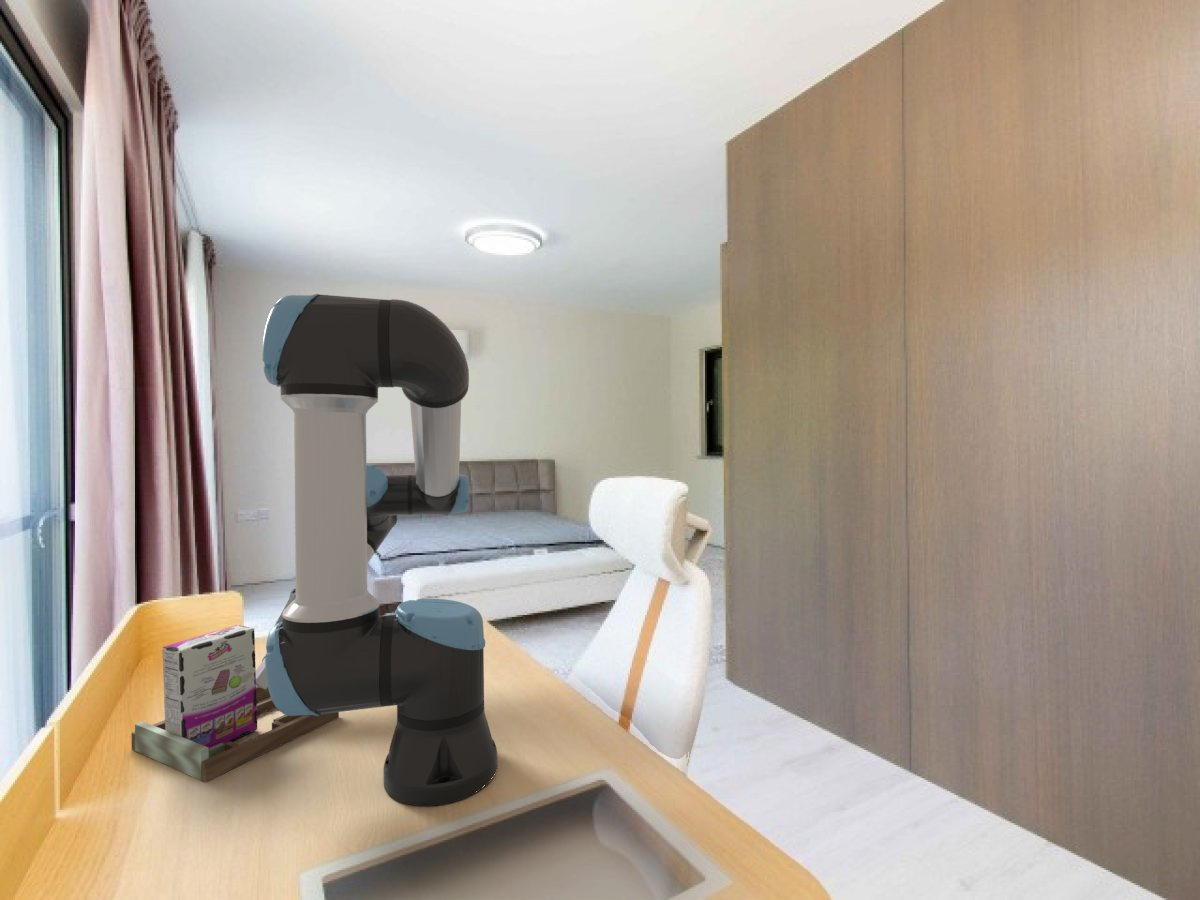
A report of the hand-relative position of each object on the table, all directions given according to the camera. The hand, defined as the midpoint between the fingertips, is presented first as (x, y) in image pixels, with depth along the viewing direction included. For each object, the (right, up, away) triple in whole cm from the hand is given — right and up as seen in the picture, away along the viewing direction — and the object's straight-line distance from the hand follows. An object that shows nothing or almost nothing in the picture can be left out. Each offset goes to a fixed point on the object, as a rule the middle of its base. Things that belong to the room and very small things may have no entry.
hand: (257, 684), depth 94 cm
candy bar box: (-3, -7, -6) cm, 10 cm away
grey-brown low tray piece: (-1, -6, -2) cm, 7 cm away
